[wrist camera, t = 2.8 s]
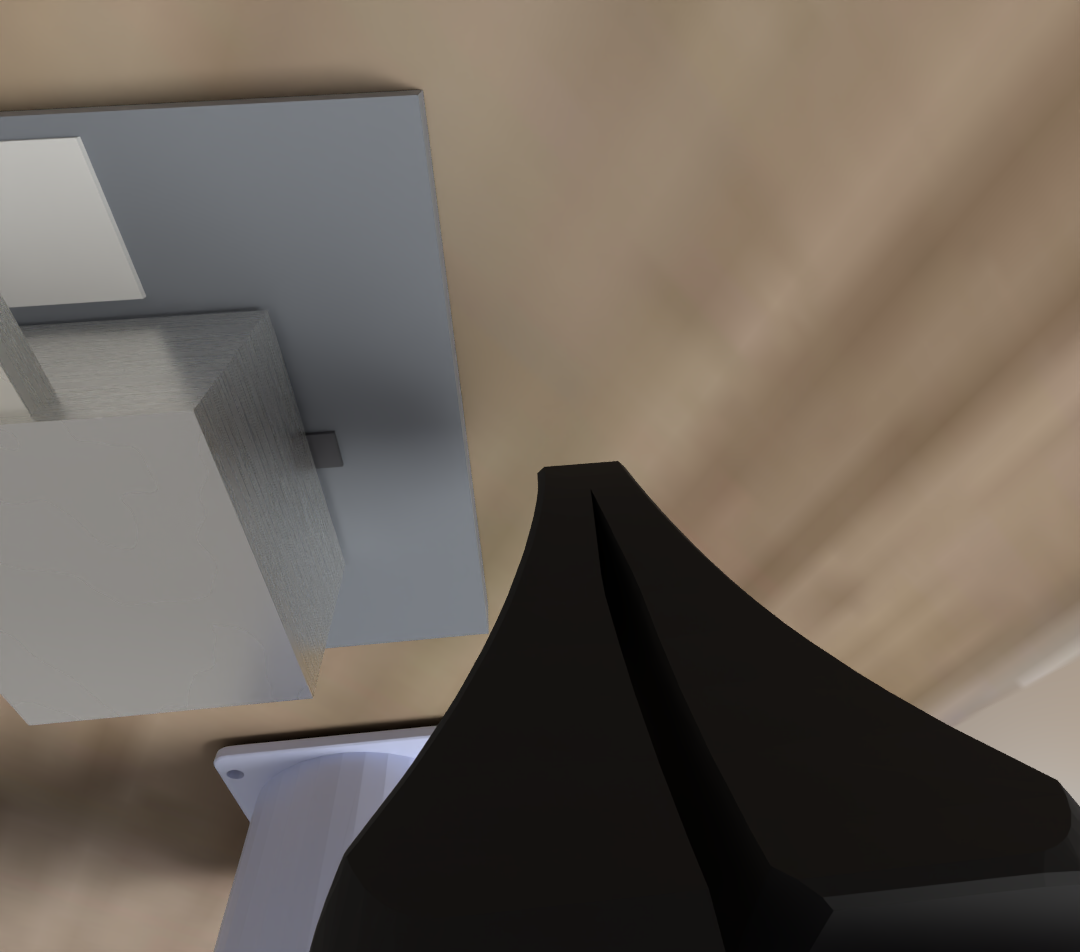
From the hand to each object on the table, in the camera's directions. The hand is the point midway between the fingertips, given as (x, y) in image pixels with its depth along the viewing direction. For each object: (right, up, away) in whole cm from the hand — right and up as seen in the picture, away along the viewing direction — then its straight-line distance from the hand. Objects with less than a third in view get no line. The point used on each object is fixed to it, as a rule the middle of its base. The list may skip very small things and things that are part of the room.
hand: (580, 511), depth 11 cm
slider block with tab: (-8, +2, +1) cm, 8 cm away
